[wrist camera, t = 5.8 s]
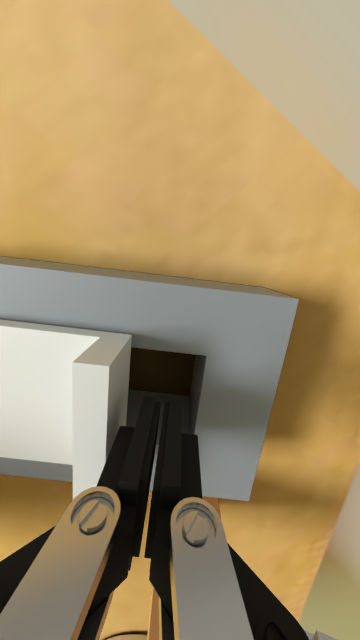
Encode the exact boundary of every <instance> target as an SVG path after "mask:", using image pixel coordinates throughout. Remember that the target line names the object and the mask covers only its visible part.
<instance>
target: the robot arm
mask: <svg viewBox="0 0 360 640" xmlns="http://www.w3.org/2000/svg"><path fill="white" fill-rule="evenodd" d="M156 400H157V397H151V396H144V398H143V402H142V405H141V408H140V412H139V415H138V418H137V422H136V425H135V427H128V426H120V427H119V430H118V432H117V435H116V437H115V440H114V442H113V445H112V447H111V450H110V453H109V455H108V458H107V460H106V463H105V465H104V468H103V470H102V473H101V475H100V478H99V481H98V483H97V486H96V487H91V488H89V489H87V490H84V491H82V492H81V493H80V494H79V495H77V496H76V497H75V498H74V499H73V501H72V502H71V503H70V504H69V506H68V507H67V509H66V511H65V512H64V514H63V515H62V517H61V519H60V520H59V522H58V523H57V525H56V526H54V527H53V528H51V529H50V530H48V531H47V532H45V533H44V534H42V535H41V536H39V537H37V538H36V539H34V540H33V541H31V542H30V543H28V544H27V545H25V546H24V547H22V548H21V549H19V550H18V551H16V552H15V553H13V554H11V555H10V556H8V557H7V558H5V559H4V560H2V561H1V562H0V640H99V638H100V635H101V632H102V628H103V625H104V622H105V619H106V616H107V613H108V610H109V607H110V604H111V601H112V597H113V592H114V590H115V589H116V588H117V587H118V586H119V585H120V584H121V583H122V582H123V581H124V580H125V579H126V578H127V575H128V570H130V568H131V562H132V556H134V557H139V554H140V547H141V541H142V534H143V528H144V521H145V515H146V508H147V502H148V495H149V489H150V482H151V476H152V469H153V463H154V456H155V448H156V440H157V431H158V423H159V414H160V406H161V401H156ZM144 558H151V564H150V577H149V580H150V582H151V583H152V585H153V587H154V589H155V590H156V592H157V594H158V596H159V603H158V604H159V640H337V639H335V638H333V637H330V636H328V635H326V634H324V633H321V632H319V631H316V633H315V635H314V634H311V633H309V632H307V631H305V630H303V628H302V627H301V626H300V624H299V623H298V622H297V620H296V619H295V618H294V617H293V616H292V615H291V613H290V612H289V611H288V610H287V609H286V608H285V607H284V606H283V604H282V603H281V602H280V601H279V600H278V599H277V598H276V597H275V596H274V594H273V593H272V592H271V591H270V590H269V589H268V588H267V587H266V585H265V584H264V583H263V582H262V581H261V580H260V579H259V578H258V577H257V575H256V574H255V573H254V572H253V571H252V570H251V569H250V568H249V566H248V565H247V564H246V563H245V562H244V561H243V560H242V559H241V558H240V556H239V555H238V554H237V553H236V552H235V551H234V550H233V549H232V548H231V546H230V545H229V544H228V543H227V540H226V536H225V533H224V529H223V525H222V522H221V519H220V517H219V514H218V513H217V511H216V510H215V509H214V507H213V506H212V505H211V504H209V503H208V502H207V501H205V500H203V498H202V485H201V472H200V459H199V446H198V436H197V435H195V434H187V433H182V400H176V399H170V402H165V404H164V411H163V419H162V426H161V433H160V440H159V447H158V454H157V462H156V469H155V476H154V483H153V491H152V499H151V508H150V516H149V524H148V532H147V541H146V549H145V557H144ZM106 640H147V635H143V634H127V635H119V636H115V637H111V638H109V639H106Z"/></svg>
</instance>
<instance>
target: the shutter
mask: <svg viewBox="0 0 360 640" xmlns="http://www.w3.org/2000/svg"><path fill="white" fill-rule="evenodd" d="M131 342H132V335H130V334H122V333H113V332H105V331H96V330H87V329H79V328H70V327H61V326H53V325H44V324H35V323H27V322H18V321H9V320H1V319H0V457H5V458H14V459H23V460H32V461H41V462H50V463H60V464H69V465H73V499H74V498H75V497H76V496H77V495H79V494H80V493H81V492H82V491H84V490H87V489H89V488H91V487H96V486H97V483H98V481H99V478H100V475H101V473H102V470H103V468H104V465H105V463H106V460H107V458H108V455H109V453H110V450H111V447H112V445H113V442H114V440H115V437H116V435H117V432H118V430H119V427H120V426H126V418H127V403H128V387H129V372H130V357H131Z"/></svg>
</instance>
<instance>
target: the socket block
mask: <svg viewBox="0 0 360 640" xmlns="http://www.w3.org/2000/svg"><path fill="white" fill-rule="evenodd" d="M298 302H299V299H297V298H294V297H291V296H288V295H285V294H282V293H279V292H276V291H273V290H270V289H267V288H264V287H258V286H249V285H241V284H232V283H224V282H215V281H207V280H199V279H190V278H182V277H173V276H165V275H156V274H148V273H139V272H131V271H123V270H114V269H106V268H97V267H89V266H80V265H72V264H64V263H55V262H47V261H38V260H30V259H21V258H13V257H5V256H0V319H1V320H9V321H18V322H27V323H35V324H44V325H53V326H61V327H70V328H79V329H87V330H96V331H105V332H113V333H122V334H130V335H132V342H131V347H134V348H142V349H151V350H160V351H168V352H177V353H186V354H194V355H196V358H195V365H194V372H193V379H192V386H191V393H190V396H184V395H175V394H166V393H157V392H148V391H140V390H131V389H128V403H127V418H126V426H128V427H135V425H136V422H137V418H138V415H139V412H140V408H141V405H142V402H143V398H144V396H151V397H157V400H156V401H161V406H160V414H159V423H158V431H157V440H156V448H155V456H154V463H153V469H152V476H151V482H150V489H149V490H150V491H153V483H154V476H155V469H156V462H157V454H158V447H159V440H160V433H161V426H162V419H163V411H164V404H165V402H170V399H176V400H182V433H187V434H195V435H197V436H198V446H199V459H200V472H201V485H202V496H205V497H214V498H223V499H233V500H242V501H249V498H250V494H251V490H252V486H253V482H254V478H255V474H256V470H257V466H258V462H259V458H260V454H261V450H262V446H263V442H264V438H265V434H266V430H267V426H268V422H269V418H270V414H271V410H272V406H273V402H274V398H275V394H276V390H277V386H278V382H279V378H280V374H281V370H282V366H283V362H284V358H285V354H286V350H287V346H288V342H289V338H290V334H291V330H292V326H293V322H294V318H295V314H296V310H297V306H298ZM0 474H2V475H12V476H21V477H30V478H39V479H49V480H58V481H67V482H73V465H69V464H60V463H50V462H41V461H32V460H23V459H14V458H5V457H0Z"/></svg>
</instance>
